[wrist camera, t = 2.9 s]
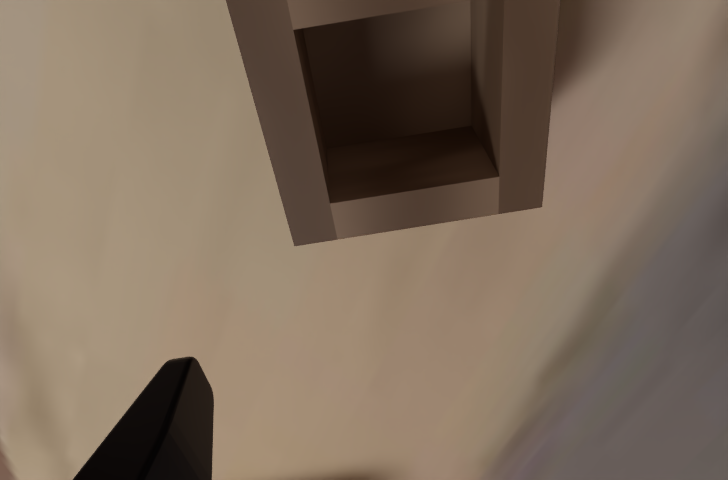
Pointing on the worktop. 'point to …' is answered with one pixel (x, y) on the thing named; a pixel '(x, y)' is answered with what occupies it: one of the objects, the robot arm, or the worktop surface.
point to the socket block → (400, 108)
